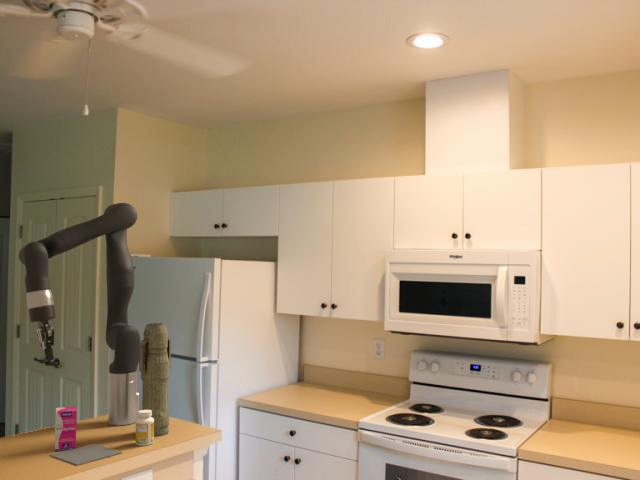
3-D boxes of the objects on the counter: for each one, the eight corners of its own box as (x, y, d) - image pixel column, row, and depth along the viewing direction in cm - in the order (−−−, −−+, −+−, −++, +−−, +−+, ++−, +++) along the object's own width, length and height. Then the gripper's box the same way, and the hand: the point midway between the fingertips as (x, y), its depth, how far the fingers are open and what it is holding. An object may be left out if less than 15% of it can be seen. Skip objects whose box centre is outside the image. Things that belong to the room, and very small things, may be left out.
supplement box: (54, 451, 180) (55, 411, 181) (54, 446, 186) (55, 407, 186) (76, 449, 182) (76, 409, 183) (75, 444, 188) (76, 405, 188)
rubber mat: (94, 444, 187) (94, 443, 187) (122, 453, 179) (122, 452, 179) (49, 455, 176) (49, 454, 176) (77, 465, 168) (77, 464, 168)
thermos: (130, 436, 196) (132, 324, 198) (156, 427, 207) (157, 321, 208) (152, 439, 192) (153, 325, 194) (177, 430, 203) (178, 322, 204)
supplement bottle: (148, 439, 192) (148, 408, 193) (157, 443, 188) (157, 411, 189) (132, 443, 188) (132, 411, 189) (140, 447, 185) (141, 414, 185)
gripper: (58, 302, 192) (67, 357, 191) (48, 305, 202) (57, 357, 201) (32, 306, 187) (41, 363, 186) (24, 309, 198) (32, 363, 197)
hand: (49, 360), depth 194 cm, fingers closed
